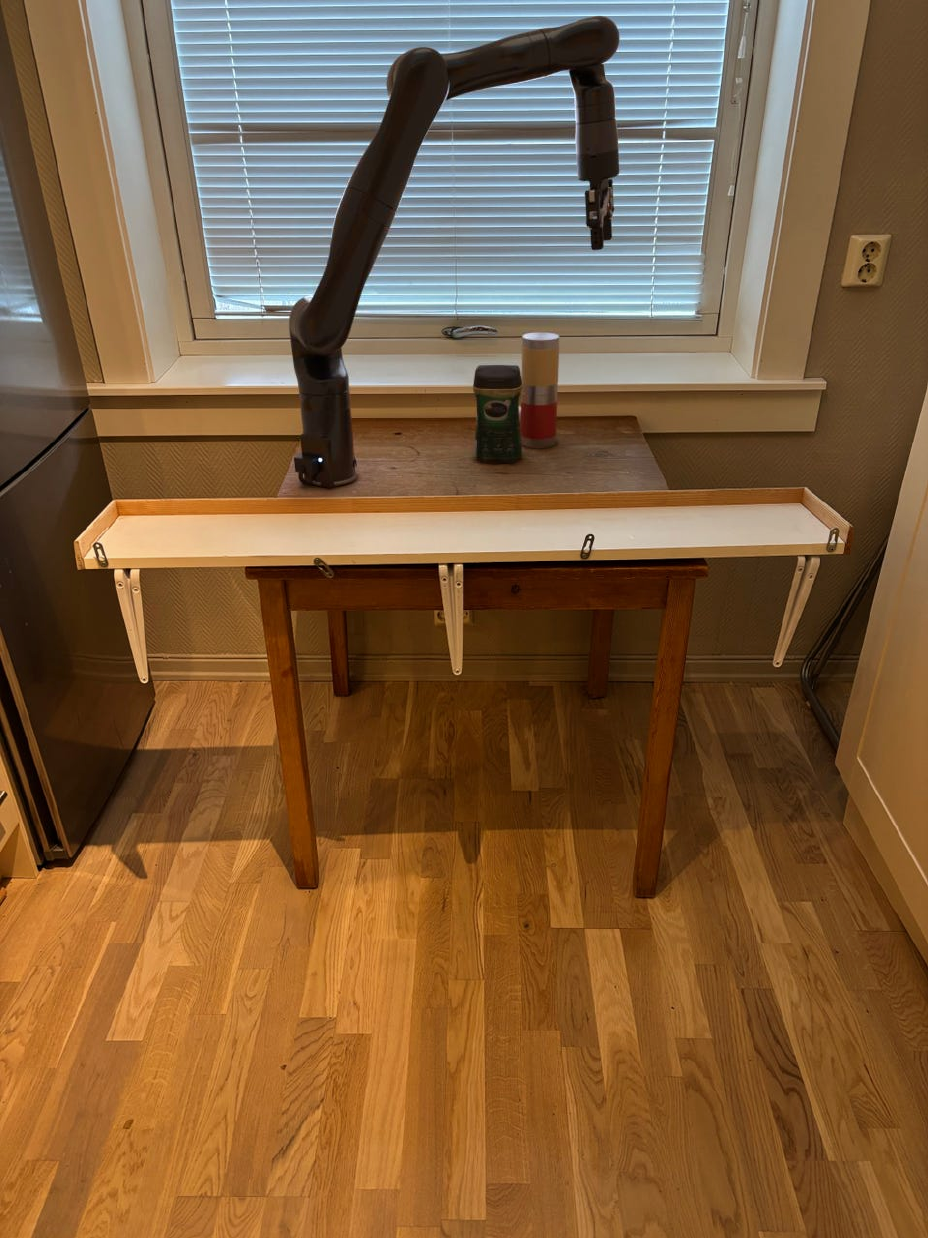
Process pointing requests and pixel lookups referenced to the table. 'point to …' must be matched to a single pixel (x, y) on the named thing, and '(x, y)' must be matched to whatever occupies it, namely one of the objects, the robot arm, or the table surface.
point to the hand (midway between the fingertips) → (601, 244)
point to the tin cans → (539, 389)
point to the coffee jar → (497, 413)
